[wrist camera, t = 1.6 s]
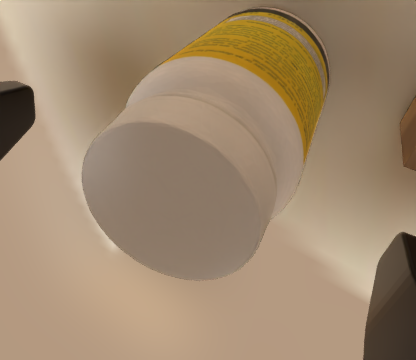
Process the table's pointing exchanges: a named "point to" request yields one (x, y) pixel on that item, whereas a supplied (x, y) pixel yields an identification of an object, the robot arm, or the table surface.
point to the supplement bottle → (210, 146)
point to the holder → (409, 136)
